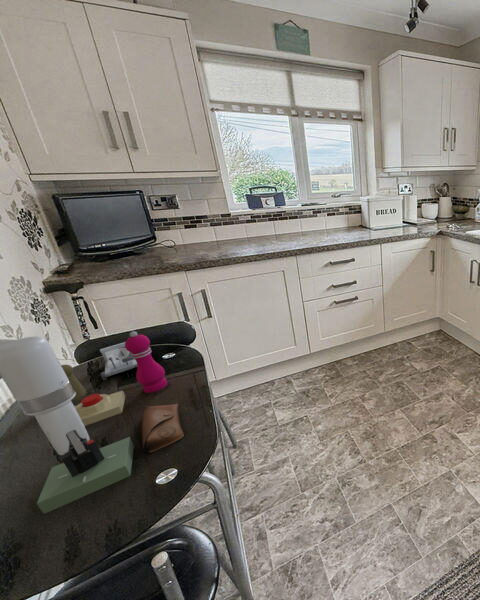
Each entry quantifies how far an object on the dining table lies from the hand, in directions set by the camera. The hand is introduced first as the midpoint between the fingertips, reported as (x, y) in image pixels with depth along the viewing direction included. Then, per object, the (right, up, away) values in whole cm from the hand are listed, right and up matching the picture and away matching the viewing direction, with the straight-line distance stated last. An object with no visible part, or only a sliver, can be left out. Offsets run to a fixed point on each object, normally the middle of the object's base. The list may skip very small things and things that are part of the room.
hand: (87, 465), depth 72 cm
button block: (-19, +3, +23) cm, 30 cm away
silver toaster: (-32, +11, +47) cm, 58 cm away
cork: (-35, +5, +33) cm, 48 cm away
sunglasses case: (+6, +2, +15) cm, 16 cm away
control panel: (0, -3, +1) cm, 3 cm away
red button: (-19, +7, +22) cm, 30 cm away
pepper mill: (-10, +8, +34) cm, 36 cm away
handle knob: (0, 0, 0) cm, 0 cm away
